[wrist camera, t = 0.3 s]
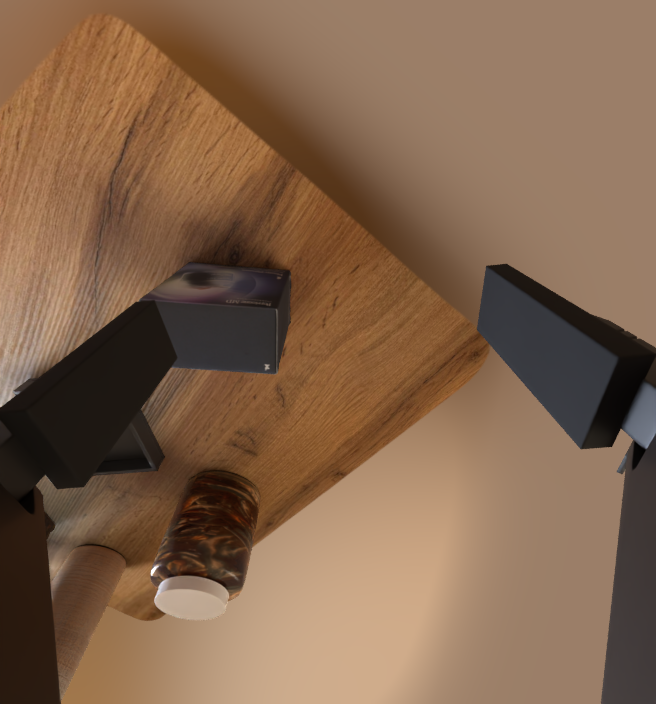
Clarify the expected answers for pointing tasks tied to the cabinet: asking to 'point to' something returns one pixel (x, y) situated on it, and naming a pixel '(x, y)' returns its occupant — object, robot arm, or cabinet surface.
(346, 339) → the cabinet surface
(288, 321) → the small box
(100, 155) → the cabinet surface
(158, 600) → the jar
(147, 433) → the tray
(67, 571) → the vase
